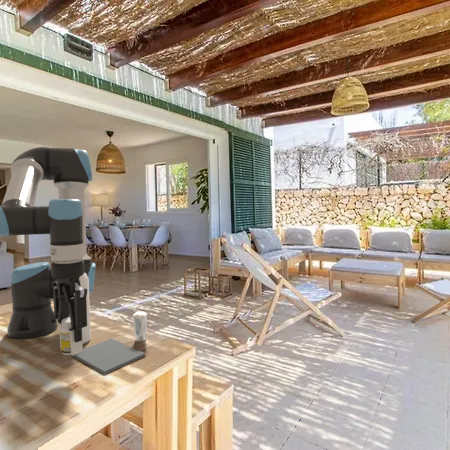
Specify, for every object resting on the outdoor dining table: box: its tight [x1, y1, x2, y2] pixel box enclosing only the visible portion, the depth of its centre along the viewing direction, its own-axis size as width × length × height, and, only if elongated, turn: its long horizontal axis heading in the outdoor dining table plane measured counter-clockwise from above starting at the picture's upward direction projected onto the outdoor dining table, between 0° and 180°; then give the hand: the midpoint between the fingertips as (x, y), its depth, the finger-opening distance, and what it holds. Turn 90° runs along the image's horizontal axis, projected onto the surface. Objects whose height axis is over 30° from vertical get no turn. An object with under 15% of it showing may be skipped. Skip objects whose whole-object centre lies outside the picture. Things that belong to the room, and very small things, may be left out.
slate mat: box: [71, 338, 146, 375], centre depth 96 cm, size 17×13×1 cm
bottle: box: [69, 273, 92, 345], centre depth 106 cm, size 8×8×30 cm
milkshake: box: [132, 309, 150, 343], centre depth 107 cm, size 5×5×10 cm
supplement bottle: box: [59, 317, 72, 356], centre depth 84 cm, size 5×5×8 cm
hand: (71, 349), depth 85 cm, fingers closed on supplement bottle, 5 cm apart
